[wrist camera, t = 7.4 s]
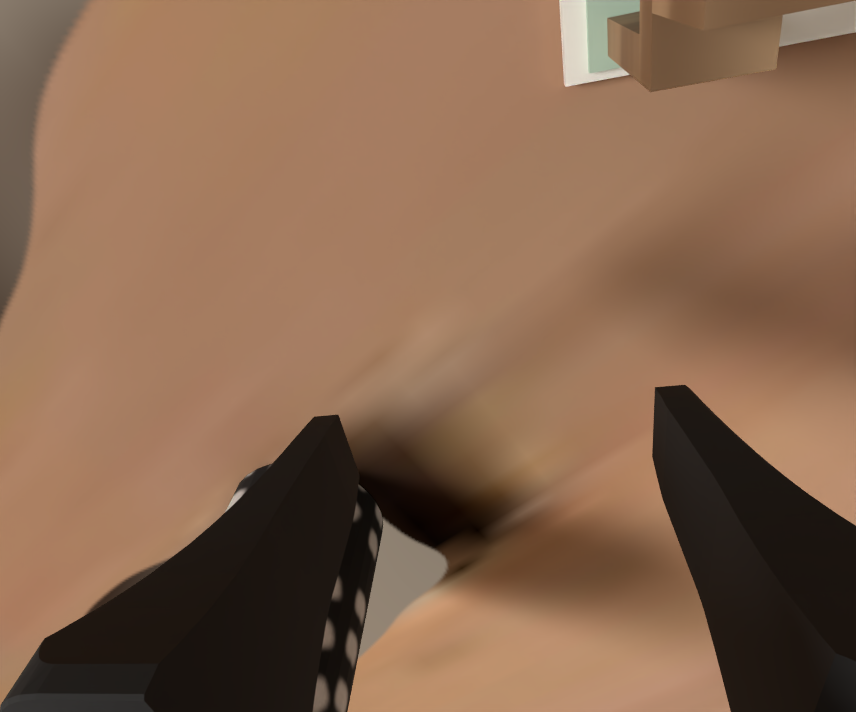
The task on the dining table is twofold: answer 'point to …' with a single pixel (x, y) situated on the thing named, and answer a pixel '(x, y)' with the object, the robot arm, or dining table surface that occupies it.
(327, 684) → the white-spotted black cylinder
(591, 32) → the end pad
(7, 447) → the dining table surface
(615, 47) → the stepped wooden block
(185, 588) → the robot arm
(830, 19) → the buzz wire board
